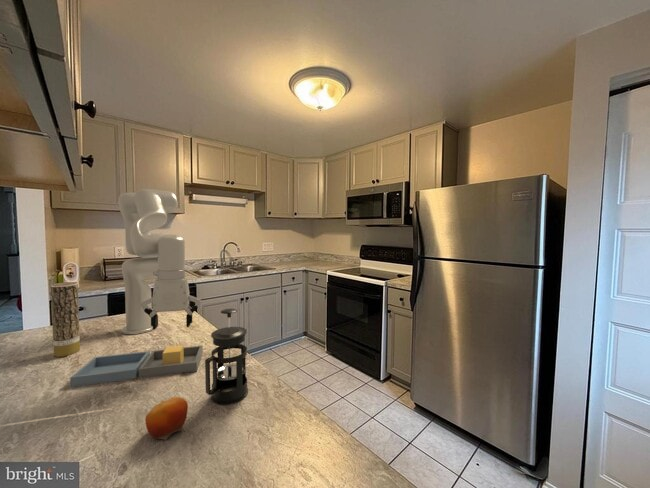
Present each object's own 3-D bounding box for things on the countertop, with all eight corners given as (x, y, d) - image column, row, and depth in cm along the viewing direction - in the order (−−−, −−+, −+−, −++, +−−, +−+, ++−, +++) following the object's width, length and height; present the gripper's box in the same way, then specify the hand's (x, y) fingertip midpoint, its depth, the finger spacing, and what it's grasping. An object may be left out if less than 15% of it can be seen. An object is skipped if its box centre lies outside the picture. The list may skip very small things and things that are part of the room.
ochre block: (167, 361, 91) (166, 346, 90) (183, 359, 92) (183, 345, 92) (162, 368, 86) (162, 353, 86) (180, 366, 87) (180, 351, 87)
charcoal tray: (152, 359, 93) (152, 350, 93) (202, 353, 97) (202, 345, 97) (138, 379, 81) (138, 369, 80) (196, 371, 85) (196, 362, 85)
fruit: (163, 447, 54) (151, 406, 55) (146, 452, 57) (136, 414, 59) (201, 423, 60) (189, 387, 62) (183, 429, 64) (173, 395, 66)
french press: (236, 379, 81) (236, 302, 80) (257, 391, 75) (256, 308, 74) (197, 399, 71) (196, 312, 70) (217, 413, 66) (216, 319, 65)
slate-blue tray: (94, 366, 88) (94, 356, 88) (150, 359, 93) (149, 351, 93) (70, 388, 76) (70, 377, 76) (135, 379, 80) (135, 369, 80)
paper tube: (85, 349, 100) (82, 282, 99) (65, 358, 93) (63, 285, 92) (68, 348, 101) (65, 281, 100) (48, 357, 94) (45, 285, 93)
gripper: (136, 277, 82) (137, 333, 83) (199, 276, 87) (199, 329, 88) (144, 273, 89) (145, 324, 90) (202, 272, 94) (202, 320, 95)
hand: (172, 326), depth 89 cm, fingers open, 9 cm apart
